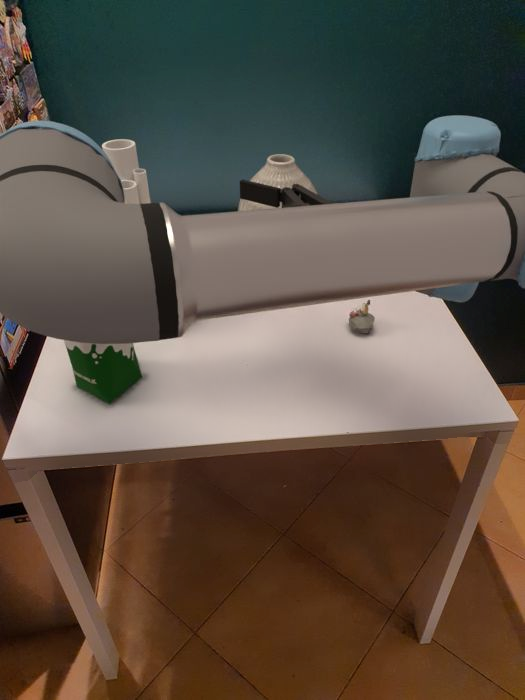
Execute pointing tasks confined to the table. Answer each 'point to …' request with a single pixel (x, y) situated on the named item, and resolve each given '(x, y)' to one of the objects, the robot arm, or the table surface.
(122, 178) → the vase
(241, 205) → the vase
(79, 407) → the table surface
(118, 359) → the soya milk
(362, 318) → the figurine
